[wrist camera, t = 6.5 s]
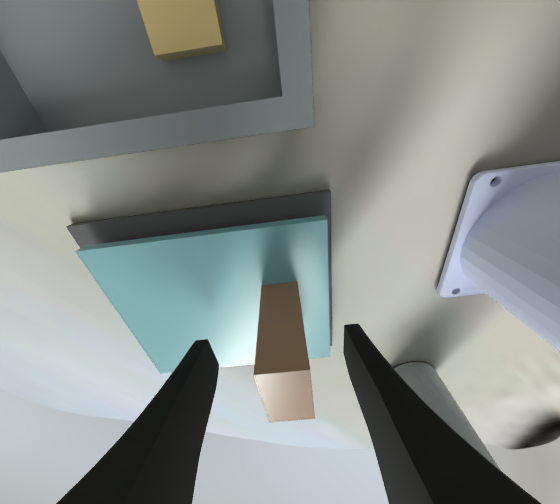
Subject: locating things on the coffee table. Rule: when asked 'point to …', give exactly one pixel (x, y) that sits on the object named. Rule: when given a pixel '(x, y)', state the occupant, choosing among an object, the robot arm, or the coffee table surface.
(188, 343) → the lid
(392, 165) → the coffee table surface
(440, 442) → the robot arm
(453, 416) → the grey cylinder
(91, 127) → the tub
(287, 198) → the mat
